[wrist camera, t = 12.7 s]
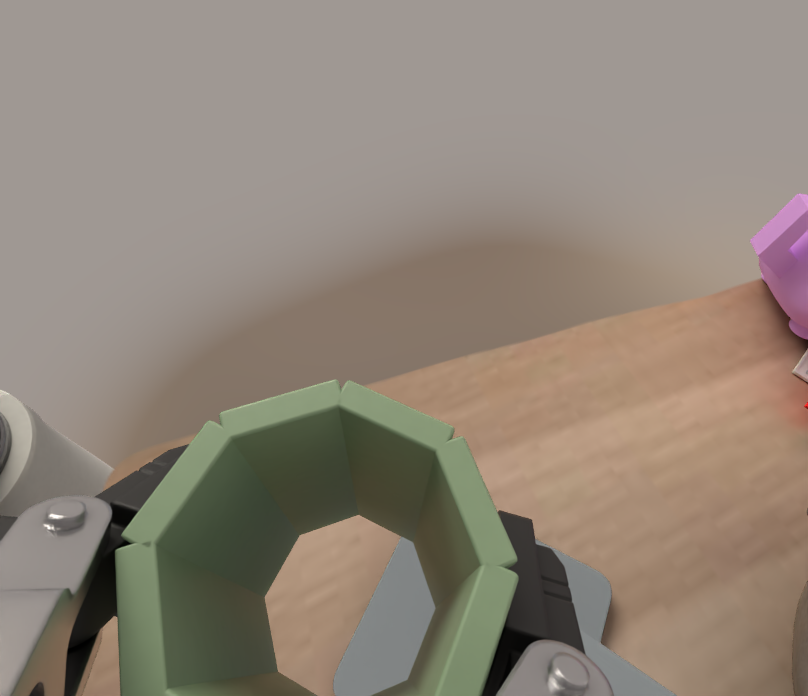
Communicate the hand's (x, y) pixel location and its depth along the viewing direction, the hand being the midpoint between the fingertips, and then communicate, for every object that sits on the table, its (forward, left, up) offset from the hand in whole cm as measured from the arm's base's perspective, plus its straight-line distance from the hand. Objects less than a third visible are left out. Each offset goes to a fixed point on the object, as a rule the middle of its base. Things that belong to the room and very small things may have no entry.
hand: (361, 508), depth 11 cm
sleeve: (-1, -1, -4) cm, 5 cm away
